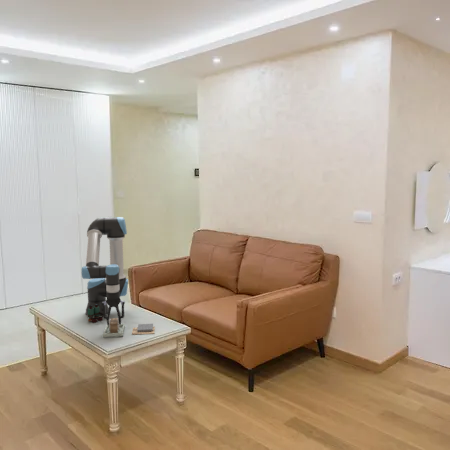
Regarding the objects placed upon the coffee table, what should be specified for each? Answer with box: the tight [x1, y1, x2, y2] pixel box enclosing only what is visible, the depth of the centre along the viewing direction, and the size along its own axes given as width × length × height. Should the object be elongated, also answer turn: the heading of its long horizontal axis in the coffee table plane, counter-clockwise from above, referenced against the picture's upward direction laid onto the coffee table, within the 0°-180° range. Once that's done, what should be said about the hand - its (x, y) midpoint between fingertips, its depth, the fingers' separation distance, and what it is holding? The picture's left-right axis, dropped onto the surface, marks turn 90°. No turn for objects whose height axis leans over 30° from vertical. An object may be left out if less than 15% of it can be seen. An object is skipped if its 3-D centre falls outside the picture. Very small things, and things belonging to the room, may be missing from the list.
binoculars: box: [87, 303, 104, 323], centre depth 281 cm, size 9×11×10 cm
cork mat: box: [131, 326, 156, 336], centre depth 263 cm, size 11×13×1 cm
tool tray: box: [102, 323, 126, 339], centre depth 261 cm, size 16×11×2 cm
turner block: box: [110, 317, 118, 333], centre depth 260 cm, size 10×4×6 cm, turn 12°
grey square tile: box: [136, 323, 154, 332], centre depth 265 cm, size 1×9×10 cm
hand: (114, 329), depth 260 cm, fingers closed on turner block, 4 cm apart
